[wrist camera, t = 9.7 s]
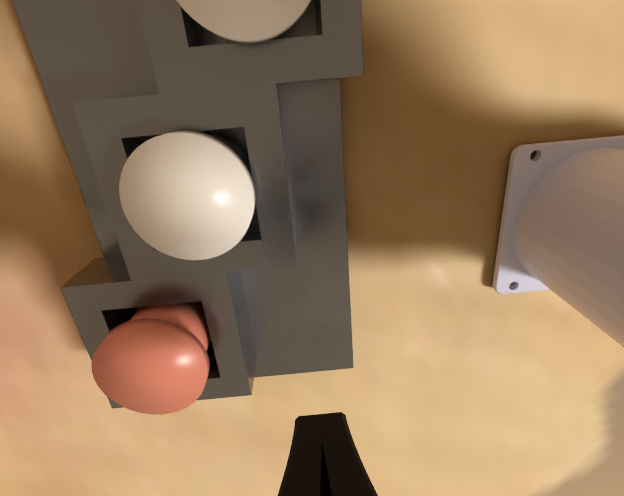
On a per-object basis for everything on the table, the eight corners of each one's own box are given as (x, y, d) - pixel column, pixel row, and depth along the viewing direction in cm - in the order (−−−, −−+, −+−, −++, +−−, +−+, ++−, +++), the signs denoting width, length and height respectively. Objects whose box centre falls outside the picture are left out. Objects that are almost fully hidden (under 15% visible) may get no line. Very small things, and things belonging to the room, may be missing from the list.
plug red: (212, 277, 17) (192, 323, 14) (229, 352, 19) (215, 408, 16) (118, 286, 17) (74, 334, 14) (144, 360, 19) (111, 418, 16)
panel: (338, -201, 12) (354, -309, 9) (359, 357, 22) (370, 405, 19) (-48, -166, 12) (-178, -262, 9) (147, 378, 22) (121, 429, 18)
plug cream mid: (253, 118, 15) (241, 126, 12) (268, 221, 17) (261, 254, 13) (144, 128, 15) (100, 139, 12) (171, 230, 17) (140, 265, 13)
